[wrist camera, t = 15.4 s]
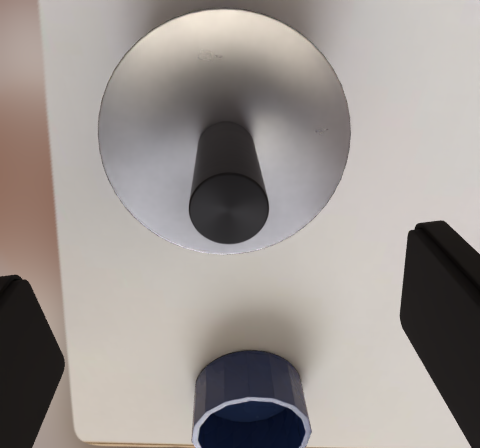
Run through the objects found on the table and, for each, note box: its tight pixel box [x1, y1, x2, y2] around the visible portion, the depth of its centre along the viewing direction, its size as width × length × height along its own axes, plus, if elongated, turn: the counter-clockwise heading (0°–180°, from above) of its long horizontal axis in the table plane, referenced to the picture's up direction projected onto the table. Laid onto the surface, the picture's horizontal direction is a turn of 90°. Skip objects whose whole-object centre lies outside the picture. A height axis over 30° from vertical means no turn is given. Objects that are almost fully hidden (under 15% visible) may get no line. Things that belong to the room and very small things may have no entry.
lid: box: [98, 8, 351, 254], centre depth 17 cm, size 12×12×8 cm
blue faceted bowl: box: [192, 351, 312, 448], centre depth 40 cm, size 11×11×5 cm
